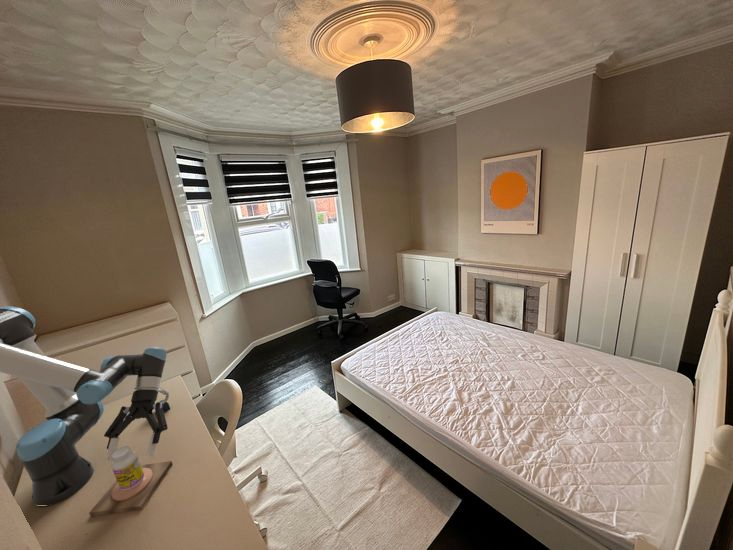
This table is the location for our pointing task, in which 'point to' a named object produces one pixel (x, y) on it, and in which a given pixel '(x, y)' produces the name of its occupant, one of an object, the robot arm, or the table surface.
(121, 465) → the supplement bottle
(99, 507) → the square brown tray
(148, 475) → the pink dome
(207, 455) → the table surface
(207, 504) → the table surface
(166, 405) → the watch
